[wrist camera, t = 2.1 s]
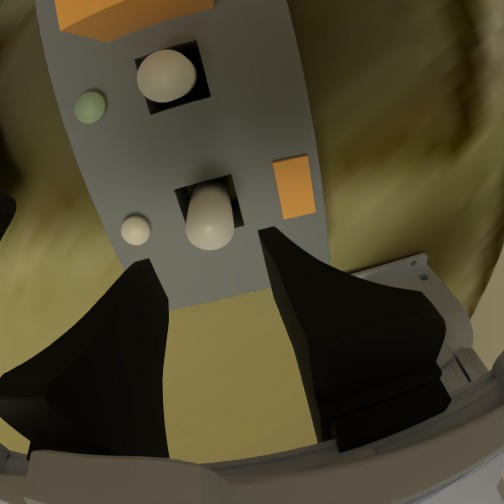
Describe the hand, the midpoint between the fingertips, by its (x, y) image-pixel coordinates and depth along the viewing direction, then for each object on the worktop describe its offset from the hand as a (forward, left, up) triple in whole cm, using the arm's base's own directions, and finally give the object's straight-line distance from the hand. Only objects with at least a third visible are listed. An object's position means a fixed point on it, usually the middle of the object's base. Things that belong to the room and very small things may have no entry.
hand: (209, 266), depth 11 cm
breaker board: (0, -5, -8) cm, 10 cm away
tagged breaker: (0, 0, -7) cm, 7 cm away
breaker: (0, -7, -7) cm, 10 cm away
